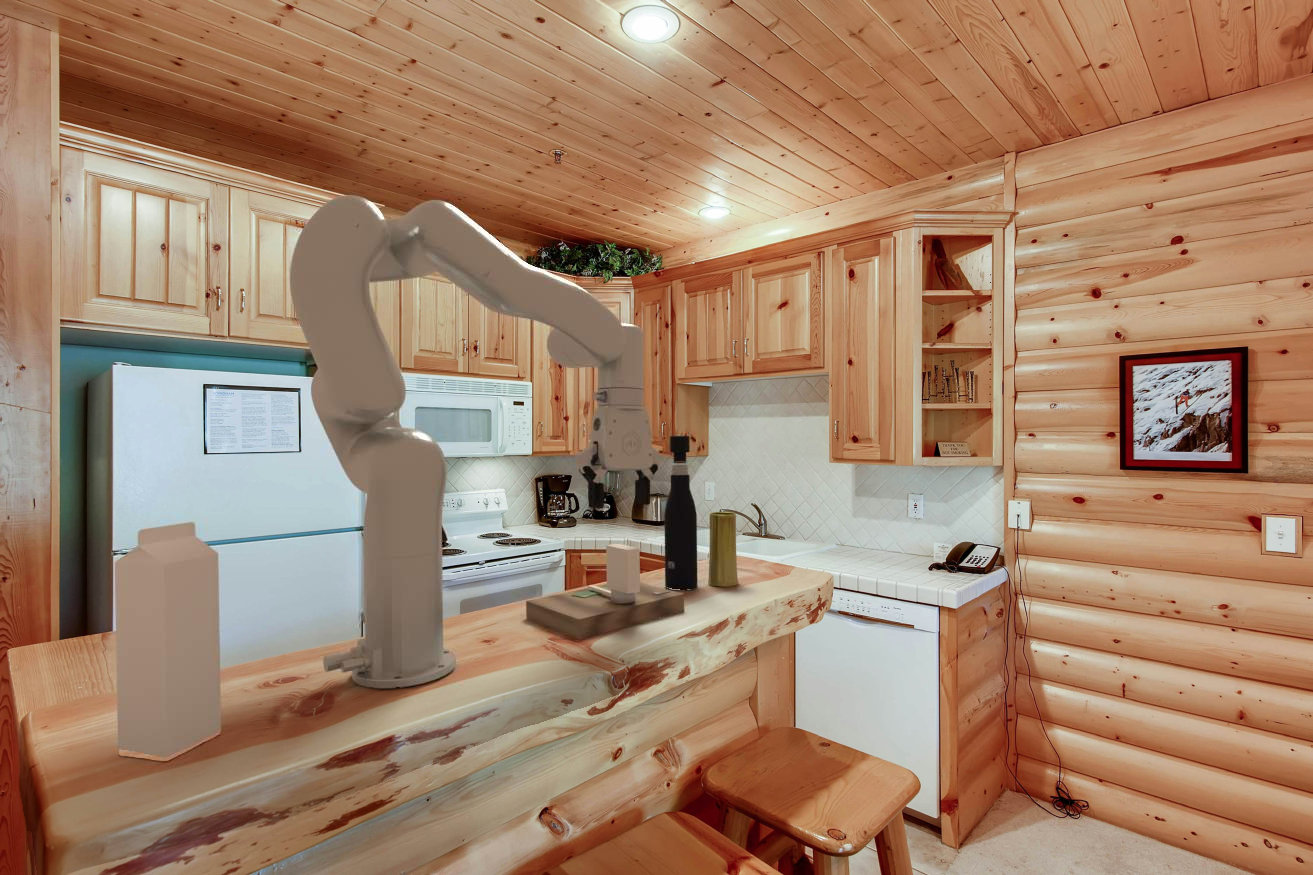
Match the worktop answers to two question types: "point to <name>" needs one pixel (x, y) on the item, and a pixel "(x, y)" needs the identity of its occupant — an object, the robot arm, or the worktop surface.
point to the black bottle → (680, 523)
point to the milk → (167, 642)
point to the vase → (723, 550)
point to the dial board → (601, 610)
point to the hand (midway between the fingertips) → (619, 505)
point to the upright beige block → (621, 573)
